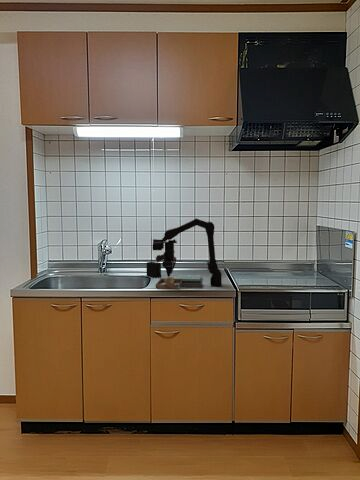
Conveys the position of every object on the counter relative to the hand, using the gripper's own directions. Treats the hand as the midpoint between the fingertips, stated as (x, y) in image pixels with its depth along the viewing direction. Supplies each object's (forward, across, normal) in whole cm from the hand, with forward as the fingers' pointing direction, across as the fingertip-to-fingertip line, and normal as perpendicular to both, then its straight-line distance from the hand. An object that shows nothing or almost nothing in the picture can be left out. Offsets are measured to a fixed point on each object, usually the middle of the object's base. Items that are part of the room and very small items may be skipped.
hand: (169, 275), depth 252 cm
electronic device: (+7, -25, -15) cm, 30 cm away
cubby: (+7, 0, 0) cm, 7 cm away
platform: (+7, -17, +10) cm, 21 cm away
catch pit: (+7, 0, +13) cm, 15 cm away
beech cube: (+7, 0, 0) cm, 7 cm away
